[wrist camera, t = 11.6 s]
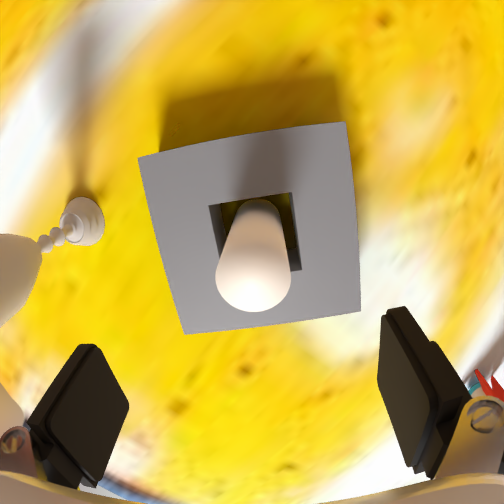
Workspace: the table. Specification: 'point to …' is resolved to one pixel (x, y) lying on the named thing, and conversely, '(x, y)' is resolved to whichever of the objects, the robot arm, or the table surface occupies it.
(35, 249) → the chalice
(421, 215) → the table surface
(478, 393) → the toy rocket
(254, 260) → the peg
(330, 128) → the socket block
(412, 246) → the table surface
